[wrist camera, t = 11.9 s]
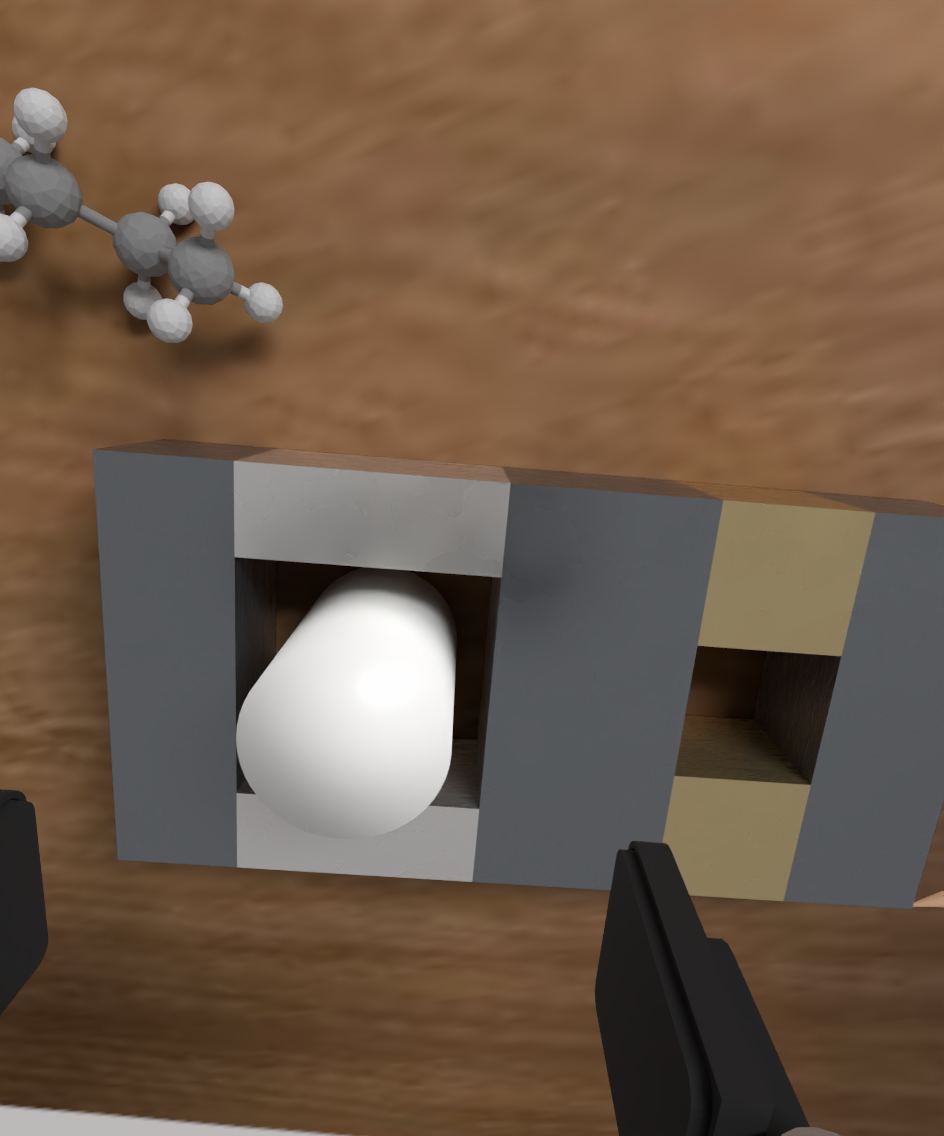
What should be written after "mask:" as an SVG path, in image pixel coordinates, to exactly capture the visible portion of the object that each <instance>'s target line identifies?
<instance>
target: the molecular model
mask: <svg viewBox="0 0 944 1136" xmlns="http://www.w3.org/2000/svg"><path fill="white" fill-rule="evenodd" d="M14 115H15V117H14V119H13V121H12V133H13V135H14V137H15V141H14V142H13V143H12V144H9V143H8V142H7V141H5V140H4V139H2V138H1V137H0V262H14V261H16V260H18V259H20V258H22V257H23V256H24V255H25V253H26V252H27V248H28V240H27V236H26V233H25V231H24V230H23V227H24V226H25V225H26V224H27V223H28V222H29V221H30V222H33V223H35V224H37V225H39V226H41V227H43V228H61V227H64V226H66V225H68V224H71V223H73V222H74V221H75V220H76V218H77V217H79V218H81V219H83V220H85V221H87V222H89V223H91V224H93V225H95V226H97V227H99V228H101V229H103V230H105V231H107V232H108V233H110V234H112V235H113V246H114V248H115V251H116V253H117V255H118V257H119V259H120V260H121V261H122V263H123V264H124V265H125V266H126V267H127V268H128V269H130V270H131V271H133V272H135V273H137V274H138V282H135V283H132V284H131V285H129V286H128V287H126V289H125V291H124V294H123V302H124V304H125V307H126V308H127V310H128V311H129V312H130V313H131V314H132V315H133V316H134V317H136V318H138V319H142V320H147V323H148V325H149V328H150V330H151V332H152V333H153V334H154V335H155V336H156V337H157V338H159V339H160V340H162V341H164V342H166V343H179V342H181V341H183V340H185V339H186V338H187V337H188V335H189V334H190V333H191V330H192V326H193V324H192V318H191V315H190V313H189V312H188V310H187V307H188V306H189V304H190V303H191V301H192V302H194V303H196V304H208V305H213V304H215V303H217V302H220V301H222V300H223V299H224V298H225V297H226V296H227V295H228V294H229V293H231V294H233V295H235V296H237V297H239V298H241V299H243V300H244V306H245V309H246V312H247V313H248V314H249V316H250V317H251V318H252V319H254V320H256V321H258V322H260V323H270V322H272V321H274V320H276V319H277V318H278V317H279V316H280V314H281V312H282V308H283V304H282V298H281V296H280V295H279V293H278V291H277V290H276V289H275V288H273V287H272V286H271V285H270V284H266V283H256V284H253V285H252V286H251V287H249V288H246V287H244V286H242V285H240V284H238V283H236V282H234V271H233V264H232V262H231V260H230V258H229V256H228V255H227V253H226V251H225V250H224V249H223V248H221V247H220V246H219V245H218V244H216V243H215V242H213V241H214V235H215V231H221V230H223V229H225V228H227V227H228V226H229V225H230V224H231V222H232V221H233V217H234V205H233V200H232V199H231V197H230V196H229V194H228V193H227V191H226V190H225V189H224V188H222V187H221V186H220V185H219V184H215V183H212V182H204V183H198V184H197V185H196V186H195V187H194V188H192V190H191V191H190V190H189V189H187V188H186V187H185V186H184V185H180V184H176V183H175V184H170V185H166V186H165V187H163V188H162V189H161V190H160V193H159V195H158V206H159V209H160V211H161V213H162V214H161V216H160V217H159V218H158V217H157V216H154V215H151V214H148V213H144V212H137V213H132V214H128V215H125V216H124V217H123V218H121V219H120V220H119V221H118V222H117V223H116V222H114V221H112V220H110V219H108V218H106V217H104V216H103V215H101V214H99V213H97V212H95V211H93V210H91V209H89V208H88V207H86V206H84V205H82V202H83V201H82V196H81V191H80V187H79V185H78V183H77V182H76V180H75V178H74V177H73V175H72V173H71V172H70V171H68V170H67V169H66V168H65V167H64V166H62V165H61V164H60V163H59V162H58V161H57V160H55V159H52V158H51V152H52V151H53V149H54V148H55V147H56V141H58V140H61V138H62V137H63V136H64V134H65V133H66V129H67V124H68V122H67V117H66V112H65V111H64V109H63V108H62V106H61V104H60V103H59V101H58V100H57V99H56V98H54V97H53V96H52V95H50V94H49V93H48V92H46V91H43V90H40V89H36V88H29V89H24V90H22V91H21V92H20V93H19V94H18V95H17V96H16V99H15V101H14ZM27 151H28V152H30V153H32V154H30V155H25V156H22V155H23V154H24V153H25V152H27ZM9 204H13V205H14V207H15V208H16V210H15V211H14V212H13V213H12V214H11V215H10V216H8V215H5V209H4V205H9ZM193 220H195V221H196V222H197V223H198V224H199V225H200V226H201V232H200V237H193V238H188V239H184V240H183V241H181V242H180V243H179V244H177V242H176V238H175V236H174V234H173V233H172V231H171V229H170V228H169V226H170V225H171V224H172V223H174V224H178V225H187V224H189V223H191V222H192V221H193ZM166 273H168V274H169V277H170V280H171V282H172V285H173V286H174V287H175V288H176V290H177V291H178V292H179V294H178V296H177V298H176V299H175V300H172V299H168V298H166V299H162V296H161V295H160V293H159V292H158V290H157V289H156V288H155V287H153V286H152V285H151V284H150V280H151V277H159V276H162V275H164V274H166Z"/></svg>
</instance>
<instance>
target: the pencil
mask: <svg viewBox="0 0 944 1136" xmlns="http://www.w3.org/2000/svg"><path fill="white" fill-rule="evenodd" d="M913 907H944V890H943V891H940V892H938V893H935V894H933V895H930V896H928V897H925V898H923V899H920V900H918V901H916V902H914V903H913Z"/></svg>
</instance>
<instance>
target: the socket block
mask: <svg viewBox="0 0 944 1136" xmlns="http://www.w3.org/2000/svg"><path fill="white" fill-rule="evenodd" d="M93 464H94V481H95V497H96V513H97V530H98V546H99V562H100V579H101V595H102V611H103V628H104V644H105V660H106V677H107V693H108V709H109V726H110V742H111V758H112V775H113V791H114V807H115V824H116V840H117V856H118V860H127V861H143V862H159V863H175V864H191V865H207V866H223V867H240V868H256V869H272V870H288V871H304V872H320V873H336V874H353V875H369V876H385V877H401V878H417V879H433V880H449V881H466V882H482V883H498V884H514V885H530V886H546V887H562V888H579V889H595V890H611V885H612V879H613V873H614V867H615V860H616V855H617V852H618V850H619V849H623V850H628V847H629V844H630V842H631V841H643V842H656V843H666V844H668V845H669V847H670V849H671V851H672V853H673V856H674V858H675V861H676V863H677V866H678V868H679V871H680V873H681V876H682V878H683V880H684V883H685V885H686V888H687V890H688V893H689V895H692V896H708V897H724V898H740V899H756V900H772V901H788V902H805V903H821V904H837V905H853V906H869V907H885V908H901V909H912V907H913V903H914V900H915V896H916V893H917V890H918V886H919V883H920V880H921V876H922V873H923V869H924V866H925V863H926V859H927V856H928V852H929V849H930V846H931V842H932V839H933V836H934V832H935V829H936V825H937V822H938V819H939V815H940V812H941V808H942V805H943V802H944V506H943V505H938V504H934V503H930V502H925V501H917V500H905V499H892V498H880V497H868V496H855V495H843V494H831V493H818V492H806V491H794V490H782V489H769V488H757V487H745V486H732V485H720V484H708V483H695V482H683V481H671V480H658V479H646V478H634V477H621V476H609V475H597V474H584V473H572V472H560V471H547V470H535V469H523V468H510V467H498V466H486V465H473V464H461V463H449V462H437V461H424V460H412V459H400V458H387V457H375V456H363V455H350V454H338V453H326V452H313V451H301V450H289V449H276V448H264V447H252V446H239V445H227V444H215V443H202V442H190V441H178V440H165V439H162V440H155V441H148V442H141V443H134V444H127V445H120V446H113V447H106V448H99V449H93ZM276 560H278V561H292V562H305V563H318V564H331V565H344V566H357V567H371V568H384V569H397V570H410V571H423V572H436V573H449V574H463V575H476V576H489V577H492V582H491V592H490V603H489V614H488V625H487V636H486V647H485V657H484V668H483V679H482V690H481V701H480V712H479V722H478V733H477V740H471V739H457V738H452V754H451V760H450V766H449V770H448V773H447V776H446V779H445V781H444V783H443V785H442V787H441V789H440V791H439V792H438V794H437V796H436V797H435V799H434V800H433V801H432V802H431V803H430V804H429V806H428V807H427V808H426V809H425V810H424V811H423V812H422V813H420V814H419V815H418V816H417V817H416V818H414V819H413V820H411V821H410V822H408V823H407V824H405V825H403V826H401V827H399V828H397V829H395V830H393V831H390V832H387V833H384V834H382V835H377V836H373V837H368V838H359V839H338V838H330V837H325V836H320V835H316V834H313V833H310V832H307V831H304V830H302V829H300V828H298V827H296V826H293V825H291V824H289V823H288V822H286V821H285V820H283V819H282V818H280V817H279V816H277V815H276V814H275V813H274V812H272V811H271V810H270V809H269V808H268V807H267V806H266V805H265V804H264V803H263V802H262V801H261V800H260V799H259V798H258V796H257V795H256V794H255V792H254V791H253V790H252V788H251V787H250V785H249V783H248V781H247V779H246V778H245V776H244V773H243V771H242V768H241V765H240V762H239V758H238V753H237V745H236V731H237V723H238V718H239V714H240V711H241V708H242V706H243V703H244V701H245V699H246V697H247V695H248V694H249V692H250V690H251V689H252V687H253V686H254V685H255V683H256V682H257V681H258V679H259V678H260V677H261V675H262V674H263V672H264V671H265V670H266V668H267V667H268V666H269V664H270V663H271V662H272V660H273V659H274V657H275V656H276ZM697 646H708V647H722V648H735V649H749V650H763V651H767V653H766V658H765V663H764V668H763V672H762V677H761V682H760V687H759V692H758V697H757V701H756V706H755V711H754V716H753V720H750V719H736V718H722V717H707V716H693V715H685V713H686V707H687V702H688V696H689V691H690V685H691V679H692V674H693V668H694V662H695V657H696V651H697Z"/></svg>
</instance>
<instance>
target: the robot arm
mask: <svg viewBox="0 0 944 1136" xmlns="http://www.w3.org/2000/svg"><path fill="white" fill-rule="evenodd" d="M47 944H48V931H47V921H46V912H45V902H44V893H43V883H42V873H41V864H40V854H39V845H38V835H37V826H36V816H35V809H34V805H33V804H32V803H31V802H28V801H26V797H25V795H24V794H23V793H22V792H20V791H14V790H1V789H0V1015H1V1014H2V1013H3V1011H4V1010H5V1009H6V1007H7V1006H8V1005H9V1004H10V1002H11V1001H12V1000H13V998H14V997H15V996H16V994H17V993H18V992H19V991H20V989H21V988H22V987H23V985H24V984H25V983H26V982H27V980H28V979H29V978H30V976H31V975H32V974H33V972H34V971H35V970H36V969H37V967H38V966H39V964H40V963H41V961H42V959H43V957H44V955H45V952H46V949H47ZM595 1001H596V1010H597V1016H598V1022H599V1027H600V1033H601V1038H602V1044H603V1049H604V1054H605V1060H606V1065H607V1071H608V1076H609V1082H610V1087H611V1093H612V1098H613V1104H614V1109H615V1115H616V1120H617V1126H618V1131H619V1136H840V1135H838V1134H837V1133H833V1132H830V1131H827V1130H823V1129H820V1128H817V1127H810V1126H809V1124H808V1122H807V1120H806V1117H805V1115H804V1113H803V1111H802V1108H801V1106H800V1104H799V1101H798V1099H797V1097H796V1095H795V1092H794V1090H793V1088H792V1086H791V1083H790V1081H789V1079H788V1077H787V1074H786V1072H785V1070H784V1068H783V1065H782V1063H781V1061H780V1059H779V1056H778V1054H777V1052H776V1050H775V1047H774V1045H773V1043H772V1040H771V1038H770V1036H769V1034H768V1031H767V1029H766V1027H765V1025H764V1022H763V1020H762V1018H761V1016H760V1013H759V1011H758V1009H757V1007H756V1004H755V1002H754V1000H753V998H752V995H751V993H750V991H749V989H748V986H747V984H746V982H745V979H744V977H743V975H742V973H741V970H740V968H739V966H738V964H737V961H736V959H735V957H734V955H733V952H732V951H731V949H730V947H729V945H728V944H727V943H726V942H725V941H724V940H723V939H715V938H707V937H706V934H705V932H704V930H703V927H702V925H701V922H700V920H699V917H698V915H697V912H696V910H695V907H694V905H693V903H692V900H691V898H690V895H689V893H688V890H687V888H686V885H685V883H684V880H683V878H682V876H681V873H680V871H679V868H678V866H677V863H676V861H675V858H674V856H673V853H672V851H671V849H670V847H669V845H668V844H666V843H656V842H643V841H631V842H630V844H629V847H628V850H623V849H619V850H618V852H617V855H616V860H615V867H614V873H613V879H612V885H611V891H610V897H609V903H608V910H607V916H606V922H605V928H604V934H603V940H602V946H601V953H600V959H599V965H598V971H597V977H596V985H595Z"/></svg>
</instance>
